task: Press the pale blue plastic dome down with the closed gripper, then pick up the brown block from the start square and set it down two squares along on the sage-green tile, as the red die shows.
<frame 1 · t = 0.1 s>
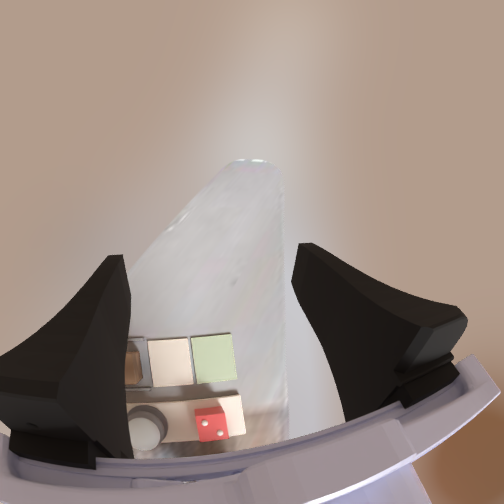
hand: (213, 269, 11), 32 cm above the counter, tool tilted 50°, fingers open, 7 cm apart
die: (209, 419, 36), resting on game board
game board: (174, 388, 38), on the counter
brown block: (128, 364, 37), on the counter
dome: (142, 434, 30), point 6 cm above the counter, slide at 0.0 cm
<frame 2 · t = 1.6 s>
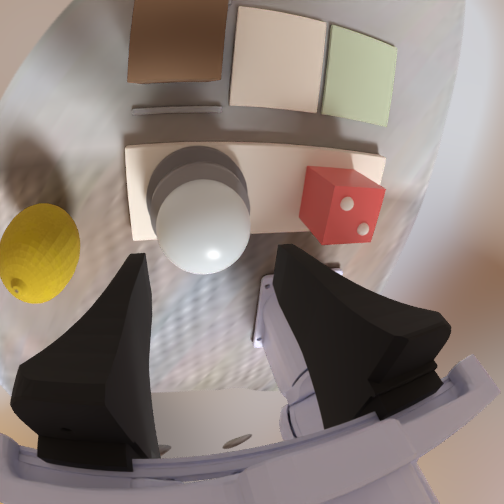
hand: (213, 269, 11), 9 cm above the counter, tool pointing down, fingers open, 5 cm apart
die: (326, 192, 21), resting on game board
lemon: (59, 220, 18), on the counter
game board: (273, 115, 18), on the counter
brown block: (176, 52, 14), on the counter
dome: (203, 226, 14), point 6 cm above the counter, slide at 0.0 cm
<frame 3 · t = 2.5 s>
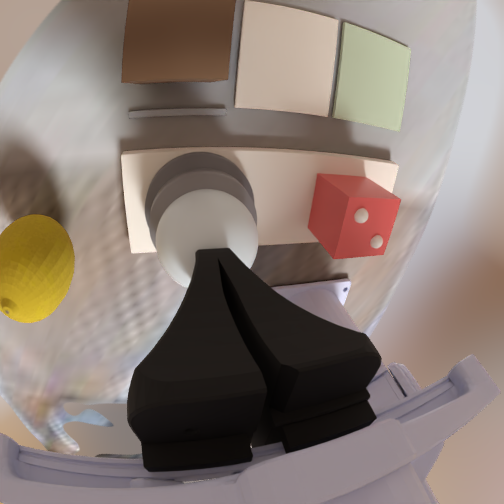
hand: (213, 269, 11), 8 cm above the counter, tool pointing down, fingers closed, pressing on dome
die: (337, 201, 19), resting on game board
lemon: (52, 230, 16), on the counter
game board: (281, 118, 16), on the counter
brown block: (177, 50, 13), on the counter
dome: (206, 240, 13), point 5 cm above the counter, slide at 0.2 cm, touching gripper
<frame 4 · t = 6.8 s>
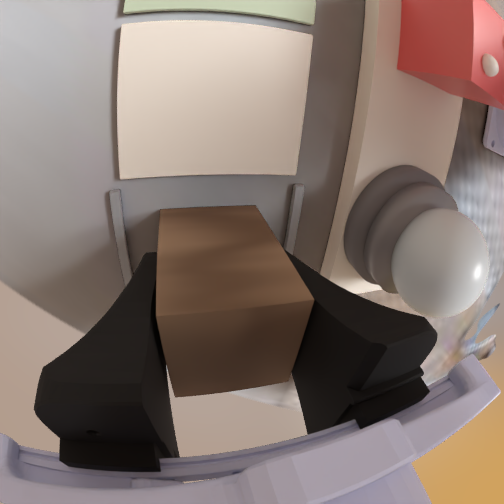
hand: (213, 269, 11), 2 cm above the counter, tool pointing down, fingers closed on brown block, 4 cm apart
die: (430, 45, 8), resting on game board
game board: (313, 105, 10), on the counter
brown block: (208, 248, 13), on the counter, touching gripper
dome: (441, 263, 11), point 5 cm above the counter, slide at 1.1 cm
when the fingers open (3 cm above the counter, at t = 11.7 s): brown block drops 1 cm, resting on game board.
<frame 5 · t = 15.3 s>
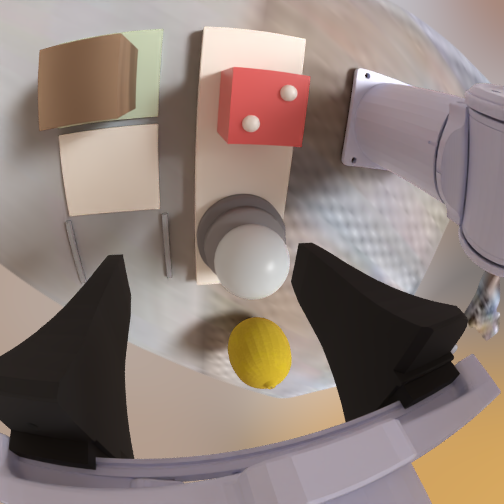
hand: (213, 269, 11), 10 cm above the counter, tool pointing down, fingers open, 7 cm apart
die: (250, 102, 16), resting on game board
lemon: (248, 319, 28), on the counter
game board: (165, 166, 18), on the counter
brown block: (106, 82, 14), resting on game board
dome: (252, 261, 18), point 5 cm above the counter, slide at 1.1 cm
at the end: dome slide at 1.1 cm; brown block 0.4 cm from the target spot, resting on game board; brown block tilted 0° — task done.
